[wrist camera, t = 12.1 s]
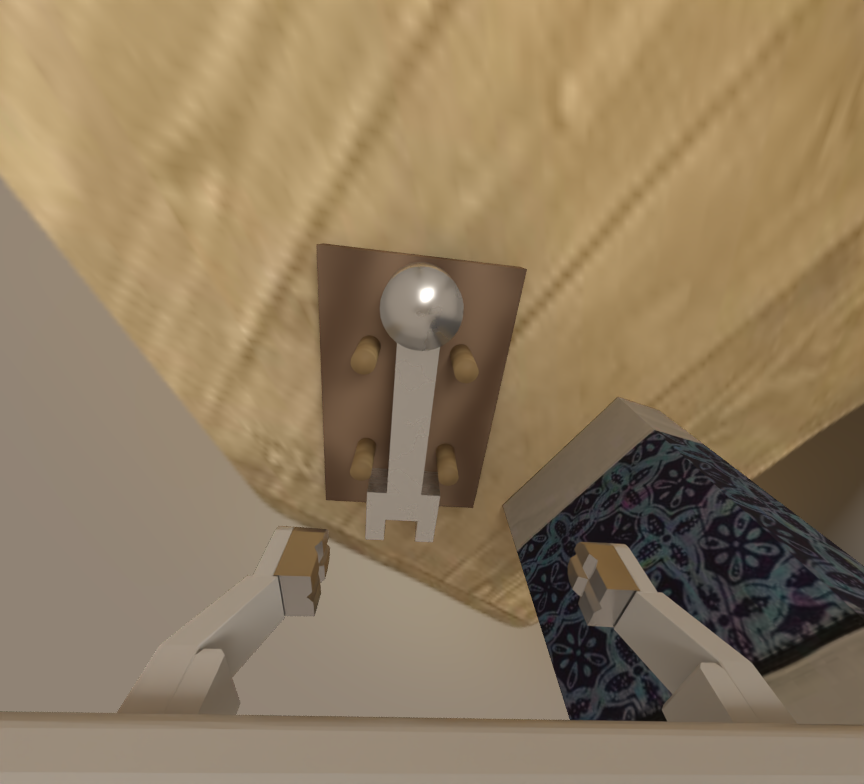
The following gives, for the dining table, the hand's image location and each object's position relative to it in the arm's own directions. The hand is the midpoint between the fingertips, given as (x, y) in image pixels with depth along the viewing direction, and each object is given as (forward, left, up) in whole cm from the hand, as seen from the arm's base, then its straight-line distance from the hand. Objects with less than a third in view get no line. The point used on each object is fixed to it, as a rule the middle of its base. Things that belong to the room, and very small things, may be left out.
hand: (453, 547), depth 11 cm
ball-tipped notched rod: (+1, +3, -16) cm, 17 cm away
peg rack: (+1, +4, -18) cm, 18 cm away
